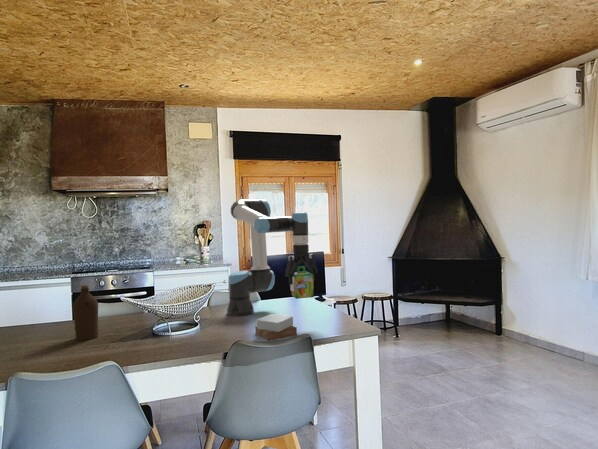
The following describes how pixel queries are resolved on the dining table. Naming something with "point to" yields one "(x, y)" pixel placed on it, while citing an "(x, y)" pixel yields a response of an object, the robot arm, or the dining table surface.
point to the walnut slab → (276, 333)
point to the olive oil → (85, 315)
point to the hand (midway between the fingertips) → (302, 289)
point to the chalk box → (303, 284)
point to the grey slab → (274, 322)
